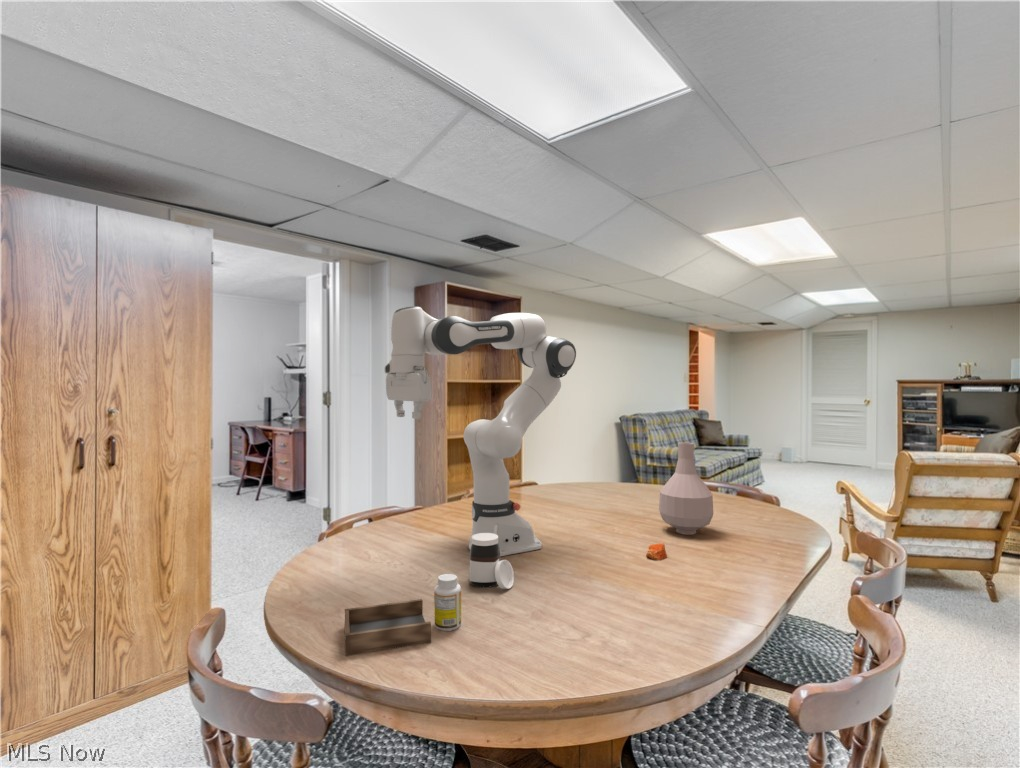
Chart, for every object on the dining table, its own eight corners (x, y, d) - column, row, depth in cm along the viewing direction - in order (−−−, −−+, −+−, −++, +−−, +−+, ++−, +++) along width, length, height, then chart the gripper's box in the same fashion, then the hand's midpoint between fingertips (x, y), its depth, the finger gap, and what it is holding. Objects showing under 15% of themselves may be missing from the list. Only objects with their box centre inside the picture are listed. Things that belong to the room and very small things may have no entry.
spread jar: (471, 574, 138) (471, 530, 138) (514, 575, 137) (514, 531, 137) (466, 593, 126) (466, 545, 126) (513, 593, 125) (513, 545, 125)
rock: (629, 561, 149) (629, 547, 149) (640, 549, 160) (640, 535, 160) (672, 568, 144) (672, 553, 144) (680, 555, 155) (680, 541, 155)
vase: (718, 529, 179) (718, 442, 179) (707, 542, 165) (707, 447, 164) (667, 522, 189) (667, 439, 189) (652, 534, 174) (652, 444, 174)
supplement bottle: (448, 617, 113) (448, 570, 113) (466, 625, 109) (466, 576, 109) (428, 626, 109) (428, 577, 109) (447, 634, 105) (447, 584, 105)
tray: (422, 616, 113) (421, 599, 113) (431, 642, 102) (431, 623, 102) (344, 627, 108) (344, 609, 108) (345, 656, 97) (345, 635, 97)
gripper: (437, 365, 134) (437, 419, 134) (402, 367, 151) (402, 415, 151) (415, 365, 131) (415, 420, 131) (381, 367, 147) (382, 416, 147)
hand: (408, 417), depth 141 cm, fingers open, 8 cm apart
